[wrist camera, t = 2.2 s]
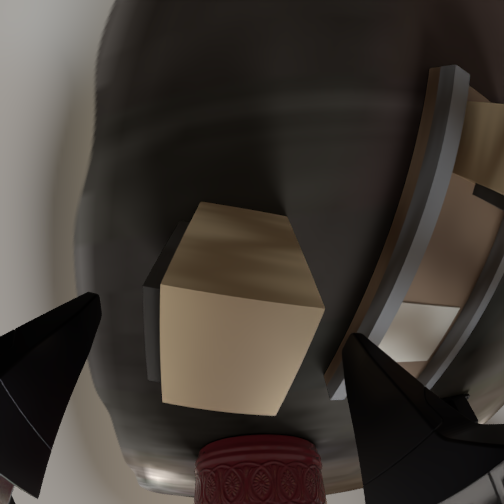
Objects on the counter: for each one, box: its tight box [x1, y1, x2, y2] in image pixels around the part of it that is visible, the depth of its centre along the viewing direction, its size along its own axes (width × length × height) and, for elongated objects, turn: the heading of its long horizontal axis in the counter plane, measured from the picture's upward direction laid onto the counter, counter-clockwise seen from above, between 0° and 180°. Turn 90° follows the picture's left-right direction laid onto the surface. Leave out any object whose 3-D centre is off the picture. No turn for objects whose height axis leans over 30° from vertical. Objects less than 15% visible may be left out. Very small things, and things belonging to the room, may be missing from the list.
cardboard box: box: [143, 202, 325, 416], centre depth 11 cm, size 5×5×7 cm
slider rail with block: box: [324, 65, 504, 400], centre depth 11 cm, size 20×9×8 cm, turn 169°
